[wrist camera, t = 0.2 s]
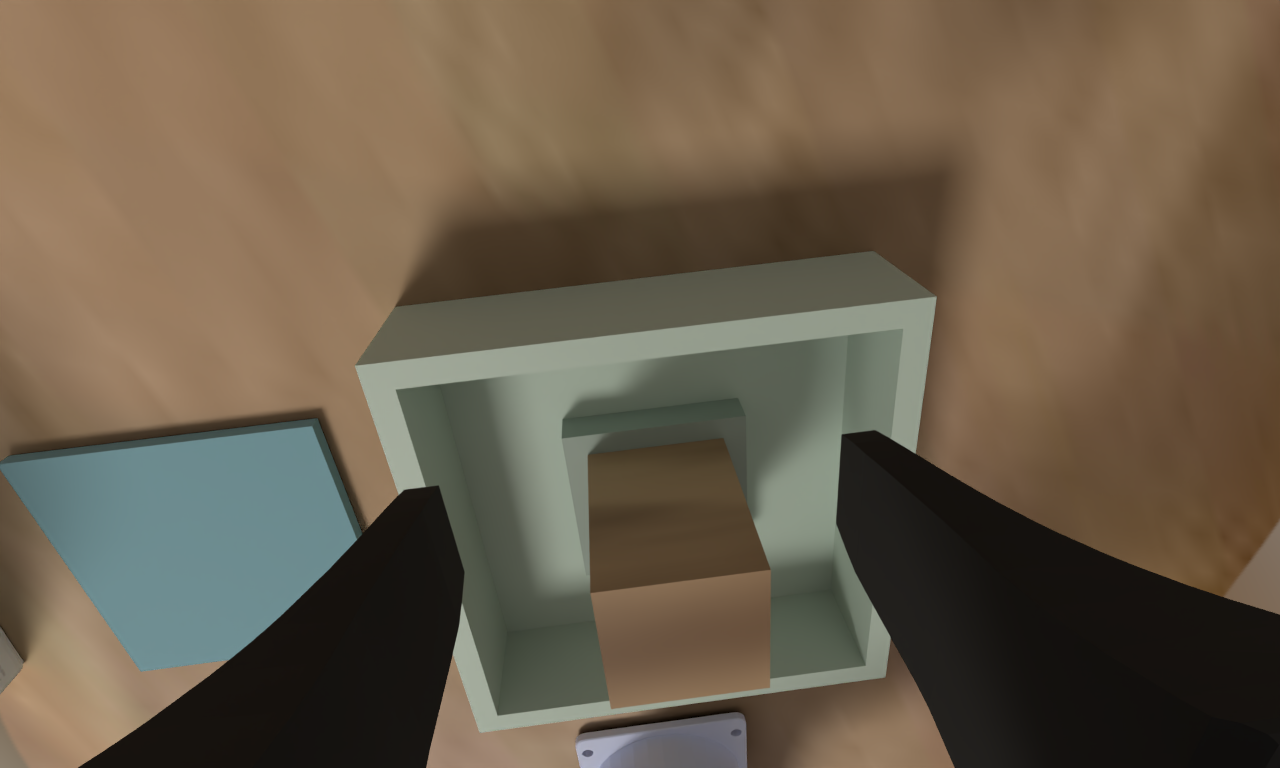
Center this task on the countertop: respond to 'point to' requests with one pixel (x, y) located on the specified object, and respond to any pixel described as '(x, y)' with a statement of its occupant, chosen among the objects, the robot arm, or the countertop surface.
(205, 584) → the teal mat
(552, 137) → the countertop surface
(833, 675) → the crate
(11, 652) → the small box
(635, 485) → the walnut block
